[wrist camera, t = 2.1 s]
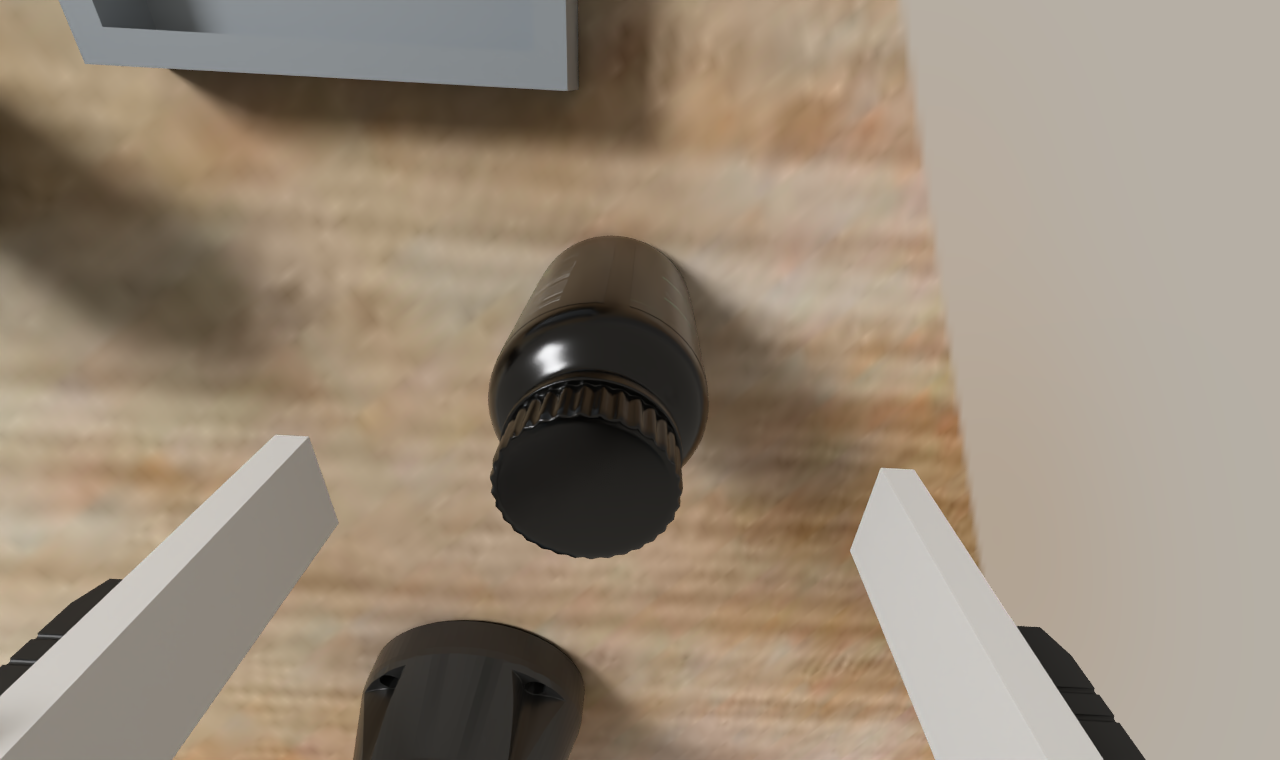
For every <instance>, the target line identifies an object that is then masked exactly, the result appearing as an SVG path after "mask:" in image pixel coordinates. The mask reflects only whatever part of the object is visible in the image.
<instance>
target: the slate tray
mask: <svg viewBox="0 0 1280 760" xmlns="http://www.w3.org/2000/svg"><path fill="white" fill-rule="evenodd" d="M59 2H60V5H61V7H62V9H63V12H64V14H65V17H66V19H67V21H68V24H69V26H70V29H71V31H72V33H73V36H74V38H75V41H76V43H77V45H78V48H79V50H80V53H81V55H82V57H83V60H84V62H85V64H98V65H115V66H133V67H151V68H169V69H186V70H204V71H222V72H240V73H257V74H275V75H293V76H311V77H328V78H346V79H364V80H382V81H399V82H417V83H435V84H453V85H470V86H488V87H506V88H524V89H541V90H559V91H571V90H579V76H578V0H59Z"/></svg>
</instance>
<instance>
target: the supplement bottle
mask: <svg viewBox="0 0 1280 760" xmlns="http://www.w3.org/2000/svg"><path fill="white" fill-rule="evenodd" d="M488 405H489V413H490V417H491V421H492V425H493V428H494V431H495V433H496V436H497V438H498V440H499V442H500V443H499V446H498V448H497V451H496V453H495V456H494V458H493V468H492V471H491V474H490V480H491V482H492V489H491V493H492V495H493V496H494V498H495V499H496V507H497V508H498V509H499V510H500V511H501V512H502V515H503V519H504V520H505V521H506V522H508V523H509V524H511V526H512V528H513V530H514V531H516V532H517V533H519V534H522V535H523V536H524V538H525V539H526V540H527V541H530V542H533V543H536V544H537V545H538V546H539V547H541V548H542V549H548V550H552V551H553V552H555V553H557V554H565V555H569V556H571V557H574V558H578V557H585V558H589V559H595V558H599V557H603V558H610V557H613V556H614V555H624V554H627V553H628V552H629V551H631V550H636V549H640V548H641V547H643V545H644V544H646V543H649V542H652V541H654V540H655V538H656V537H657V535H659V534H661V533H663V532H664V531H665V530H666V527H667V525H668V524H669V523H670V522H672V521H673V520H674V517H675V512H676V511H677V509H678V508H679V507H680V496H681V494H682V490H683V482H682V470H681V468H682V467H683V466H684V465H685V464H686V463H687V461H688V460H689V459H690V458H691V456H692V455H693V453H694V452H695V450H696V449H697V447H698V445H699V443H700V441H701V439H702V437H703V434H704V431H705V427H706V423H707V419H708V408H709V401H708V390H707V382H706V377H705V372H704V366H703V361H702V356H701V351H700V345H699V340H698V335H697V330H696V325H695V319H694V314H693V309H692V304H691V300H690V296H689V292H688V289H687V286H686V284H685V282H684V280H683V278H682V276H681V274H680V273H679V271H678V270H677V268H676V267H675V266H674V264H673V263H672V262H671V261H670V260H669V259H668V258H667V257H666V256H665V255H663V254H662V253H661V252H659V251H658V250H657V249H655V248H653V247H652V246H650V245H648V244H646V243H644V242H641V241H638V240H635V239H632V238H628V237H621V236H601V237H595V238H591V239H587V240H584V241H582V242H579V243H577V244H575V245H573V246H571V247H570V248H568V249H566V250H565V251H564V252H563V253H561V254H560V255H559V256H558V257H557V258H556V259H555V260H554V261H553V262H552V263H551V264H550V266H549V267H548V268H547V270H546V271H545V273H544V275H543V276H542V278H541V279H540V281H539V283H538V285H537V287H536V288H535V290H534V292H533V294H532V296H531V297H530V299H529V301H528V303H527V305H526V307H525V308H524V310H523V312H522V314H521V316H520V318H519V319H518V321H517V323H516V325H515V327H514V329H513V330H512V332H511V334H510V336H509V338H508V340H507V341H506V343H505V345H504V347H503V349H502V351H501V353H500V355H499V357H498V359H497V361H496V364H495V366H494V369H493V372H492V375H491V379H490V383H489V392H488Z"/></svg>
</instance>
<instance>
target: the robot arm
mask: <svg viewBox="0 0 1280 760" xmlns="http://www.w3.org/2000/svg"><path fill="white" fill-rule="evenodd" d="M338 523H339V522H338V519H337V517H336V514H335V511H334V508H333V505H332V502H331V499H330V496H329V494H328V491H327V488H326V485H325V482H324V479H323V476H322V473H321V470H320V468H319V465H318V462H317V459H316V456H315V453H314V450H313V447H312V444H311V442H310V439H309V437H308V436H290V435H274V436H273V437H272V438H271V439H270V440H269V441H268V442H267V443H266V444H265V445H264V446H263V447H262V448H261V449H260V450H259V451H258V452H257V453H255V454H254V455H253V456H252V457H251V458H250V459H249V460H248V461H247V462H246V463H245V464H244V465H243V466H242V467H241V468H240V469H239V470H238V471H237V472H235V473H234V474H233V475H232V476H231V477H230V478H229V479H228V480H227V481H226V482H225V483H224V484H223V485H222V486H221V487H220V488H219V489H218V490H217V491H215V492H214V493H213V494H212V495H211V496H210V497H209V498H208V499H207V500H206V501H205V502H204V503H203V504H202V505H201V506H200V507H199V508H198V509H197V510H195V511H194V512H193V513H192V514H191V515H190V516H189V517H188V518H187V519H186V520H185V521H184V522H183V523H182V524H181V525H180V526H179V527H178V528H177V529H175V530H174V531H173V532H172V533H171V534H170V535H169V536H168V537H167V538H166V539H165V540H164V541H163V542H162V543H161V544H160V545H159V546H158V547H157V548H155V549H154V550H153V551H152V552H151V553H150V554H149V555H148V556H147V557H146V558H145V559H144V560H143V561H142V562H141V563H140V564H139V565H138V566H137V567H135V568H134V569H133V570H132V571H131V572H130V573H129V574H128V575H127V576H126V577H125V578H124V579H109V580H107V581H106V582H104V583H103V584H101V585H99V586H98V587H96V588H95V589H93V590H91V591H90V592H88V593H87V594H85V595H83V596H82V597H80V598H79V599H77V600H75V601H74V602H72V603H71V604H70V605H68V606H67V607H66V608H65V609H64V610H63V611H62V612H61V613H60V614H58V615H57V616H56V617H55V618H54V619H53V620H52V621H51V622H50V623H49V624H47V625H46V626H45V627H44V628H43V629H42V630H41V631H40V632H39V633H38V637H37V638H36V639H31V640H30V641H29V642H28V643H26V644H25V645H24V646H23V647H22V648H21V649H20V650H19V651H18V652H17V653H15V654H14V655H13V656H12V657H11V658H10V662H9V663H8V664H7V665H2V666H1V667H0V760H172V759H173V757H174V756H175V755H176V753H177V752H178V750H179V749H180V748H181V746H182V745H183V743H184V742H185V740H186V739H187V738H188V736H189V735H190V733H191V732H192V731H193V729H194V728H195V726H196V725H197V723H198V722H199V721H200V719H201V718H202V716H203V715H204V713H205V712H206V711H207V709H208V708H209V706H210V705H211V704H212V702H213V701H214V699H215V698H216V696H217V695H218V694H219V692H220V691H221V689H222V688H223V687H224V685H225V684H226V682H227V681H228V679H229V678H230V677H231V675H232V674H233V672H234V671H235V669H236V668H237V667H238V665H239V664H240V662H241V661H242V660H243V658H244V657H245V655H246V654H247V652H248V651H249V650H250V648H251V647H252V645H253V644H254V643H255V641H256V640H257V638H258V637H259V635H260V634H261V633H262V631H263V630H264V628H265V627H266V626H267V624H268V623H269V621H270V620H271V618H272V617H273V616H274V614H275V613H276V611H277V610H278V608H279V607H280V606H281V604H282V603H283V601H284V600H285V599H286V597H287V596H288V594H289V593H290V591H291V590H292V589H293V587H294V586H295V584H296V583H297V582H298V580H299V579H300V577H301V576H302V574H303V573H304V572H305V570H306V569H307V567H308V566H309V564H310V563H311V562H312V560H313V559H314V557H315V556H316V555H317V553H318V552H319V550H320V549H321V547H322V546H323V545H324V543H325V542H326V540H327V539H328V538H329V536H330V535H331V533H332V532H333V530H334V529H335V528H336V526H337V525H338ZM850 552H851V554H852V557H853V559H854V562H855V564H856V567H857V569H858V571H859V574H860V576H861V579H862V581H863V584H864V586H865V589H866V591H867V593H868V596H869V598H870V601H871V603H872V606H873V608H874V611H875V613H876V616H877V618H878V620H879V623H880V625H881V628H882V630H883V633H884V635H885V638H886V640H887V643H888V645H889V647H890V650H891V652H892V655H893V657H894V660H895V662H896V665H897V667H898V669H899V672H900V674H901V677H902V679H903V682H904V684H905V687H906V689H907V692H908V694H909V696H910V699H911V701H912V704H913V706H914V709H915V711H916V714H917V716H918V718H919V721H920V723H921V726H922V728H923V731H924V733H925V736H926V738H927V741H928V743H929V745H930V748H931V750H932V753H933V755H934V758H935V760H1145V758H1144V757H1143V755H1142V754H1141V753H1140V751H1139V750H1138V748H1137V747H1136V746H1135V744H1134V743H1133V741H1132V740H1131V739H1130V737H1129V736H1128V734H1127V733H1126V732H1125V730H1124V729H1123V727H1122V726H1121V725H1120V723H1116V722H1115V720H1114V715H1113V713H1112V712H1111V711H1110V709H1109V708H1108V707H1107V705H1106V704H1105V702H1104V701H1103V700H1102V698H1101V697H1100V695H1097V694H1096V693H1095V692H1094V687H1093V686H1092V684H1091V683H1090V681H1089V680H1088V678H1087V677H1086V676H1085V674H1084V673H1083V671H1082V670H1081V669H1080V667H1079V666H1078V664H1077V663H1076V662H1075V660H1074V659H1073V657H1072V656H1071V655H1070V654H1069V653H1068V652H1067V651H1066V650H1064V649H1063V648H1062V647H1061V646H1060V645H1059V644H1058V643H1057V642H1056V641H1055V640H1053V639H1052V638H1051V637H1050V636H1049V635H1048V634H1047V633H1046V632H1045V631H1043V630H1042V629H1041V628H1040V627H1024V626H1016V625H1015V623H1014V622H1013V621H1012V619H1011V617H1010V616H1009V614H1008V613H1007V611H1006V610H1005V608H1004V607H1003V605H1002V604H1001V602H1000V601H999V599H998V597H997V596H996V595H995V593H994V591H993V590H992V588H991V587H990V585H989V584H988V582H987V580H986V579H985V577H984V576H983V574H982V573H981V571H980V570H979V568H978V567H977V565H976V564H975V562H974V561H973V559H972V558H971V556H970V554H969V553H968V551H967V550H966V548H965V547H964V545H963V544H962V542H961V541H960V539H959V538H958V536H957V535H956V533H955V532H954V530H953V528H952V527H951V525H950V524H949V522H948V521H947V519H946V518H945V516H944V515H943V513H942V512H941V510H940V509H939V507H938V505H937V504H936V502H935V501H934V499H933V498H932V496H931V495H930V493H929V492H928V490H927V489H926V487H925V486H924V484H923V483H922V481H921V479H920V478H919V476H918V475H917V473H916V472H915V470H912V469H894V468H881V469H880V471H879V474H878V477H877V479H876V482H875V485H874V487H873V490H872V493H871V496H870V498H869V501H868V504H867V506H866V509H865V512H864V514H863V517H862V520H861V522H860V525H859V528H858V531H857V533H856V536H855V539H854V541H853V544H852V547H851V549H850ZM583 701H584V683H583V680H582V677H581V675H580V673H579V671H578V669H577V668H576V666H575V665H574V664H573V663H572V661H571V660H570V659H569V658H568V657H567V656H566V655H564V654H563V653H562V652H561V651H560V650H558V649H557V648H555V647H554V646H552V645H551V644H549V643H547V642H546V641H544V640H542V639H540V638H538V637H536V636H533V635H531V634H529V633H526V632H523V631H520V630H517V629H514V628H511V627H507V626H503V625H498V624H492V623H486V622H476V621H447V622H438V623H432V624H427V625H423V626H420V627H416V628H413V629H411V630H408V631H406V632H404V633H402V634H400V635H399V636H397V637H395V638H394V639H393V640H391V641H390V642H389V643H388V644H387V645H386V646H385V647H384V648H383V650H382V651H381V653H380V654H379V656H378V658H377V660H376V663H375V665H374V667H373V669H372V671H371V673H370V675H369V678H368V680H367V682H366V685H365V688H364V691H363V695H362V701H361V708H360V715H359V722H358V729H357V736H356V743H355V750H354V757H353V760H568V757H569V755H570V752H571V750H572V747H573V745H574V743H575V740H576V738H577V735H578V732H579V729H580V725H581V720H582V710H583Z"/></svg>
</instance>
